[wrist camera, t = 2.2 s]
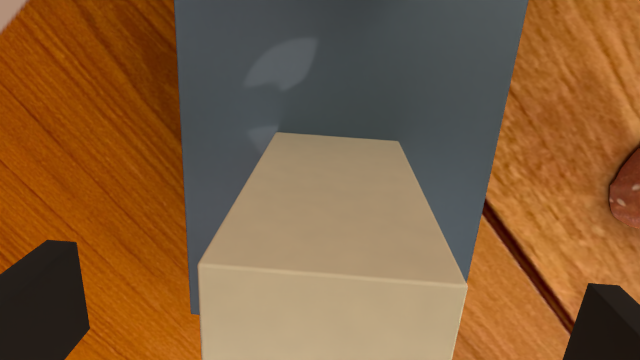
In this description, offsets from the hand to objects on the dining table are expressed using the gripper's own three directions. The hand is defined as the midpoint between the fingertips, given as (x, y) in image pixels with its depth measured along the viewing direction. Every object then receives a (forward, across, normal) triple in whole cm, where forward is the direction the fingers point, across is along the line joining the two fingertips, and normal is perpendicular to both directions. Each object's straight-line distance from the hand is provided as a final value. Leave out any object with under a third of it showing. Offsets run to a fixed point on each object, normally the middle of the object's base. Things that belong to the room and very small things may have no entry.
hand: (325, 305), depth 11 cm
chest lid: (+8, 0, +3) cm, 9 cm away
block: (+7, 0, 0) cm, 7 cm away
